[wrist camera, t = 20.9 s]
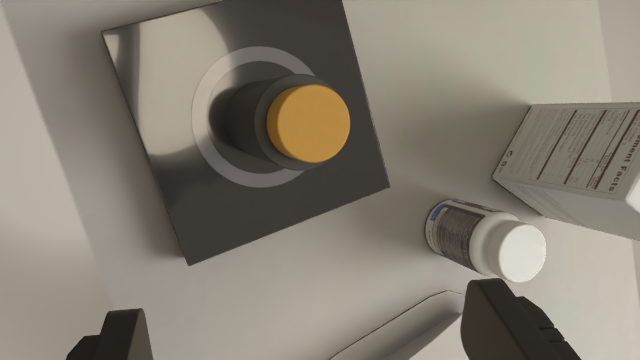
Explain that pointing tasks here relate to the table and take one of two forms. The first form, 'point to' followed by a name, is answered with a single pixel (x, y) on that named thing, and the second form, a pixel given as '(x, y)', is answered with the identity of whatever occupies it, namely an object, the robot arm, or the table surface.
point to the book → (416, 334)
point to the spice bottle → (289, 121)
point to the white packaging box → (578, 165)
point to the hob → (210, 115)
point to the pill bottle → (486, 240)
